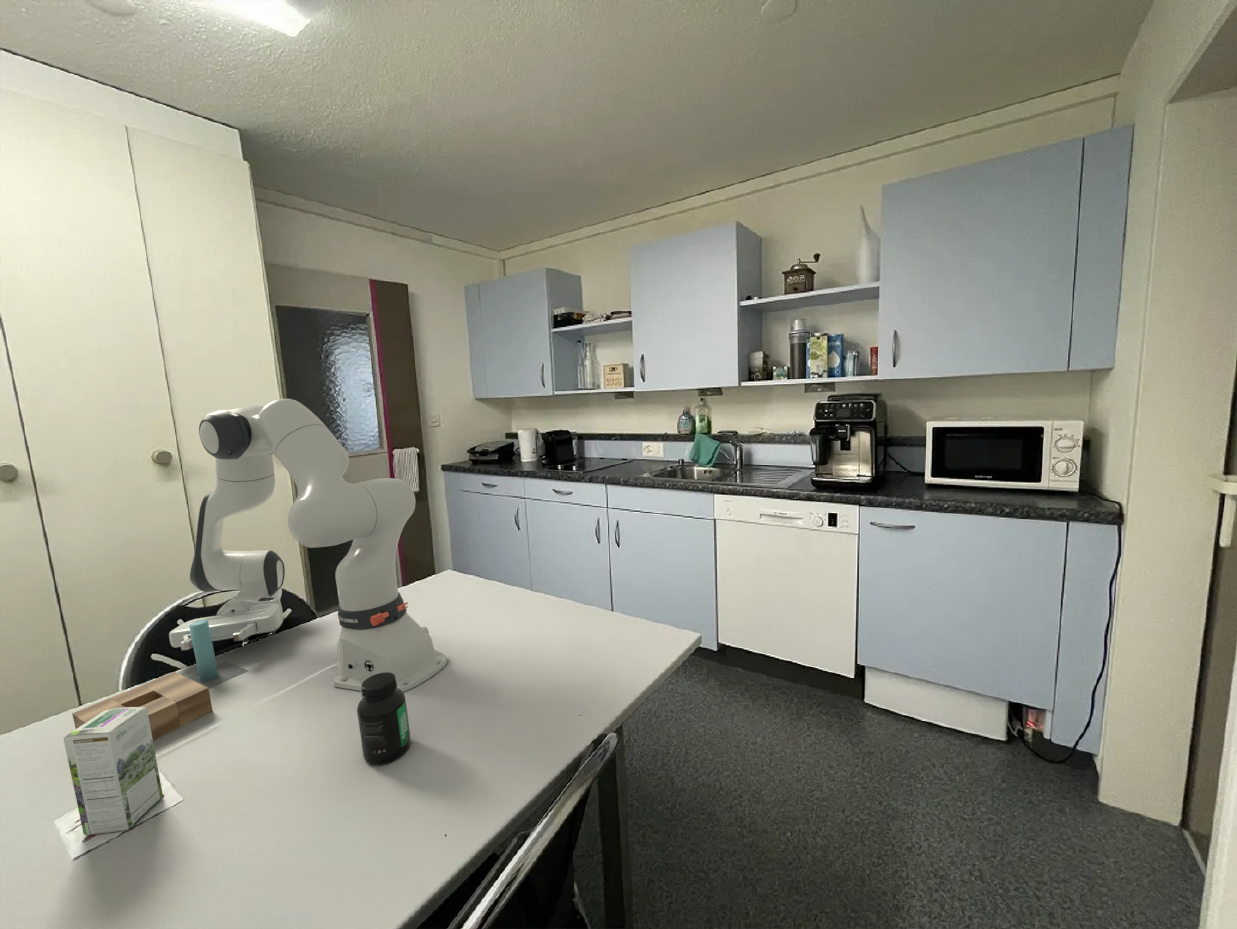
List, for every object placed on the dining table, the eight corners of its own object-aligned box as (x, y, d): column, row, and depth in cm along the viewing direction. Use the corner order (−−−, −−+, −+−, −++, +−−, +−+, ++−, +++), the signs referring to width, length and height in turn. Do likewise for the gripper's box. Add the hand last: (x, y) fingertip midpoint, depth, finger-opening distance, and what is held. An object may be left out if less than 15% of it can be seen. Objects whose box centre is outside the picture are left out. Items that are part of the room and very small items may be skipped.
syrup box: (122, 802, 71) (101, 708, 69) (166, 797, 71) (146, 704, 69) (83, 837, 65) (59, 736, 63) (130, 831, 66) (108, 731, 64)
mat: (248, 672, 105) (248, 670, 105) (191, 698, 96) (191, 696, 96) (225, 662, 110) (225, 661, 110) (168, 687, 101) (168, 685, 101)
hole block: (213, 713, 91) (208, 687, 90) (109, 764, 79) (102, 735, 78) (178, 695, 98) (174, 671, 97) (78, 739, 86) (72, 713, 85)
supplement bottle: (419, 747, 78) (410, 677, 77) (375, 774, 73) (365, 699, 72) (399, 730, 83) (390, 663, 81) (356, 754, 78) (346, 683, 76)
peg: (221, 675, 104) (210, 621, 102) (204, 683, 101) (193, 627, 99) (214, 672, 105) (204, 619, 103) (197, 680, 102) (186, 625, 101)
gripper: (186, 611, 115) (149, 637, 102) (286, 596, 120) (263, 619, 107) (191, 636, 116) (155, 666, 102) (290, 620, 121) (268, 646, 108)
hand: (211, 642), depth 105 cm, fingers open, 8 cm apart
